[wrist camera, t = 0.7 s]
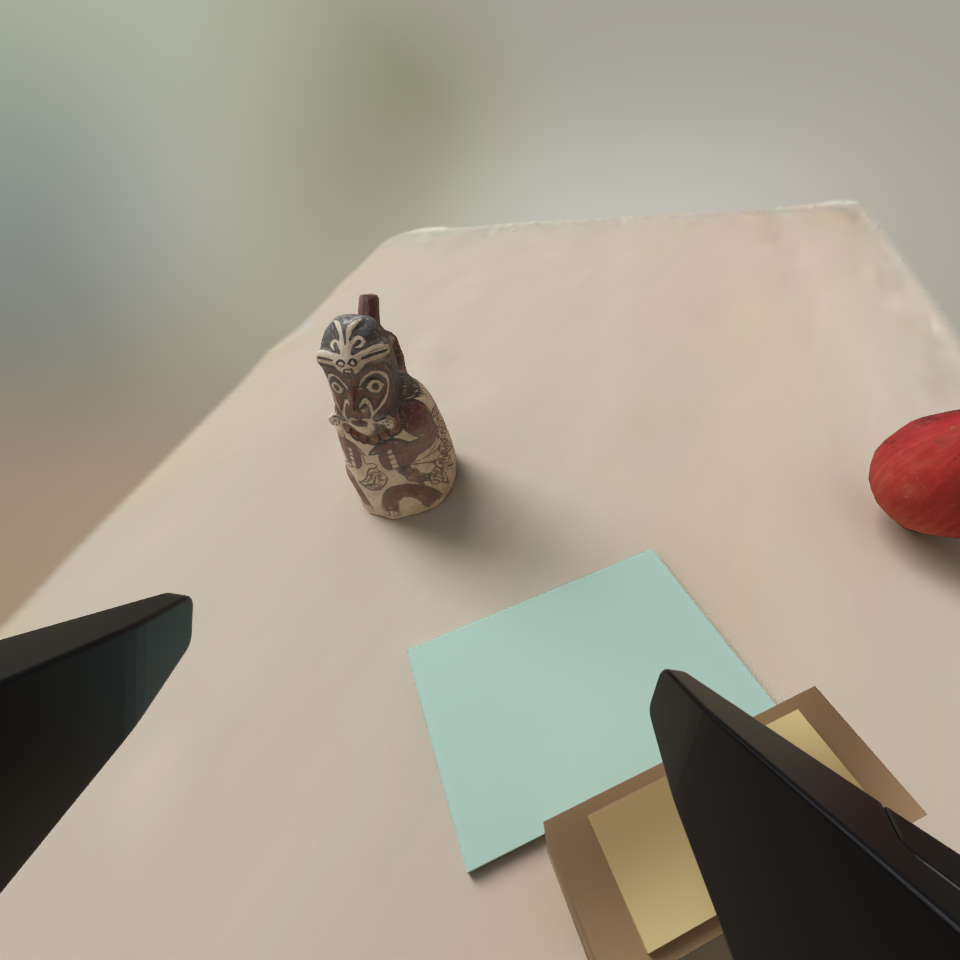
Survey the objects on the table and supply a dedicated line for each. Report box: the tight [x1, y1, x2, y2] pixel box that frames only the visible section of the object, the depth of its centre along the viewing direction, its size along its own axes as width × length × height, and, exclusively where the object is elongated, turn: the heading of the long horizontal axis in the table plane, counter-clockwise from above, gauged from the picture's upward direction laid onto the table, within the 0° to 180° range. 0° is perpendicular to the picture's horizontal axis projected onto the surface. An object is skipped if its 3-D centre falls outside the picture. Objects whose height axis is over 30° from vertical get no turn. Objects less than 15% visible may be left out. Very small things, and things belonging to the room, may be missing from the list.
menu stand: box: [543, 686, 927, 960], centre depth 14 cm, size 3×8×9 cm, turn 111°
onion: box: [869, 409, 960, 538], centre depth 22 cm, size 6×6×8 cm
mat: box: [407, 549, 776, 873], centre depth 21 cm, size 9×14×1 cm, turn 111°
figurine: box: [316, 293, 456, 519], centre depth 27 cm, size 7×7×12 cm
